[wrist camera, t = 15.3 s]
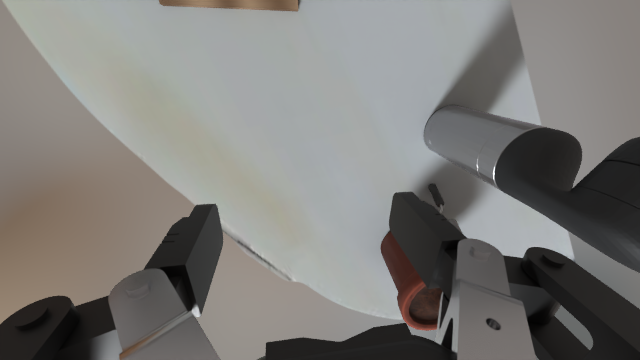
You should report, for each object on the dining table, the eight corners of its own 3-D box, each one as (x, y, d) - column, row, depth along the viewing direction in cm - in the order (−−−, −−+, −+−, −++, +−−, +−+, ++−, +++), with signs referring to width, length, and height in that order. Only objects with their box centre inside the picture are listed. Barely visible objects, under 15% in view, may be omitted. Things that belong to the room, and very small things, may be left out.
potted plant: (354, 242, 56) (404, 362, 34) (432, 181, 52) (547, 271, 29) (395, 278, 63) (459, 396, 41) (467, 227, 59) (580, 327, 37)
